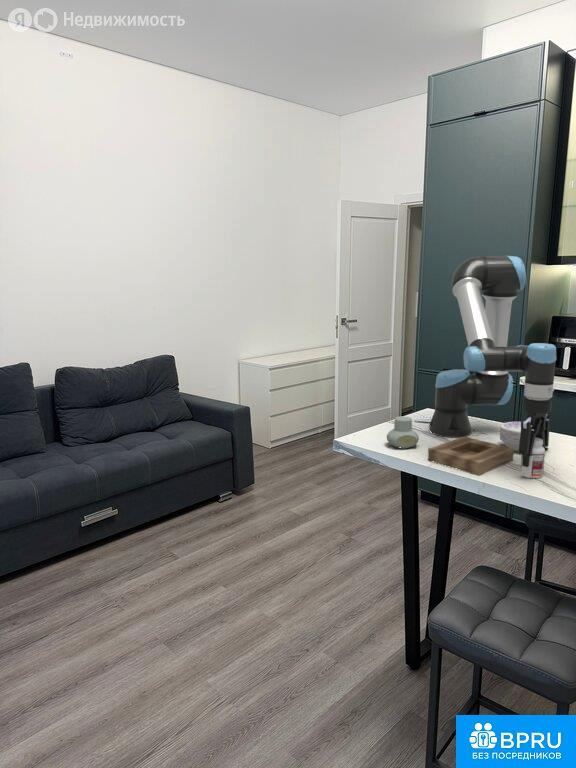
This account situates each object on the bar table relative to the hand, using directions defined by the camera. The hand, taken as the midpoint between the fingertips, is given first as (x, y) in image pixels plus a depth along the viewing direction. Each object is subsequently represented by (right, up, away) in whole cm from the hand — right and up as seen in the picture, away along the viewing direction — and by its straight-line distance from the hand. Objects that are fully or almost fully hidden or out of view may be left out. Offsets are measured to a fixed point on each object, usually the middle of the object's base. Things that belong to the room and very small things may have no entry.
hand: (531, 473), depth 162 cm
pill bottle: (0, -1, 0) cm, 1 cm away
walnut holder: (-14, +2, +13) cm, 19 cm away
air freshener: (-32, +5, +29) cm, 43 cm away
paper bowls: (+8, +4, +25) cm, 26 cm away
